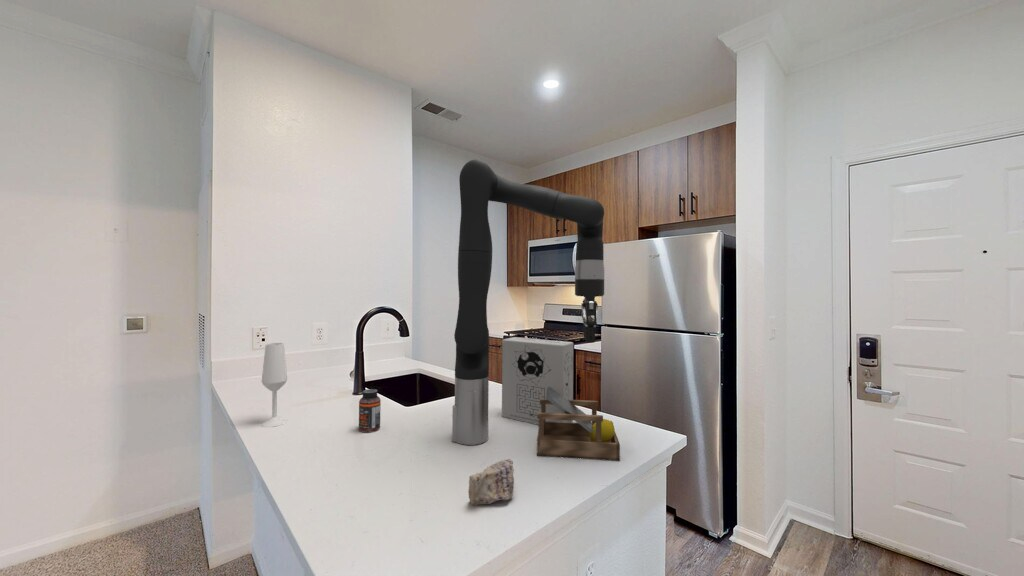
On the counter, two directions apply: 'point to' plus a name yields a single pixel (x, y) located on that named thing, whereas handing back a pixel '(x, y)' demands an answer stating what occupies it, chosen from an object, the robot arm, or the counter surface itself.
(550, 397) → the trapdoor
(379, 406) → the supplement bottle
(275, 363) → the champagne flute
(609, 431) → the lemon
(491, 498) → the mineral specimen
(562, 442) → the stand
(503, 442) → the counter surface
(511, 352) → the cereal box
